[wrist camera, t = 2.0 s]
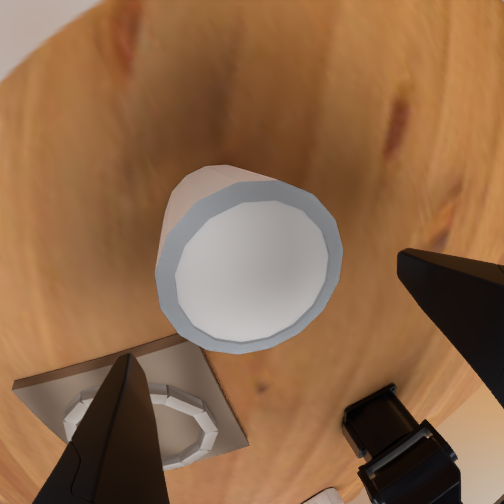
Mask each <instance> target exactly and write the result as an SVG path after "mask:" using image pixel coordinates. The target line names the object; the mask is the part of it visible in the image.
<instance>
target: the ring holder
mask: <svg viewBox="0 0 504 504" xmlns="http://www.w3.org/2000/svg"><path fill="white" fill-rule="evenodd" d="M128 352H131V353H132V354H133V355H134V356H135V358H136V359H137V361H138V362H139V364H140V365H141V367H142V368H143V370H144V372H145V375H146V378H147V383H148V388H149V392H150V397H151V401H152V405H153V409H154V413H155V418H156V424H157V432H158V439H159V446H160V452H161V459H162V465H163V471H166V470H171V469H175V468H179V467H184V466H186V465H189V464H191V463H193V462H196V461H200V460H204V459H208V458H211V457H215V456H218V455H221V454H225V453H228V452H231V451H234V450H237V449H241V448H244V447H247V446H250V445H249V443H248V440H247V437H246V435H245V434H244V432H243V430H242V428H241V426H240V424H239V422H238V421H237V419H236V417H235V415H234V413H233V411H232V409H231V407H230V405H229V403H228V401H227V399H226V397H225V395H224V393H223V391H222V389H221V387H220V385H219V383H218V381H217V379H216V377H215V375H214V373H213V371H212V369H211V367H210V365H209V363H208V361H207V359H206V356H205V354H204V352H203V350H202V348H201V347H200V346H198V345H197V344H195V343H193V342H191V341H189V340H188V339H186V338H184V337H182V336H181V335H179V334H176V335H173V336H170V337H166V338H163V339H160V340H157V341H154V342H151V343H148V344H145V345H141V346H138V347H135V348H132V349H129V350H125V351H122V352H119V353H115V354H112V355H109V356H105V357H102V358H98V359H95V360H91V361H88V362H84V363H81V364H77V365H74V366H70V367H67V368H63V369H59V370H55V371H52V372H48V373H44V374H40V375H36V376H32V377H28V378H24V379H20V380H16V381H14V384H13V387H12V391H13V392H14V394H15V395H16V396H17V397H18V398H19V399H20V400H21V401H22V402H23V403H24V404H25V405H26V406H27V407H28V408H29V409H30V410H31V411H32V412H33V413H34V414H35V415H36V416H37V417H38V418H39V419H40V420H41V421H42V422H43V423H44V424H45V425H46V426H47V427H48V428H49V429H50V430H51V431H52V432H53V433H55V434H56V435H57V436H58V437H59V438H60V439H61V440H62V441H64V442H65V443H66V444H67V445H68V443H69V441H70V440H71V438H72V436H73V434H74V432H75V430H76V428H77V427H78V425H79V423H80V421H81V419H82V418H83V416H84V414H85V412H86V410H87V409H88V407H89V405H90V403H91V402H92V400H93V398H94V396H95V395H96V393H97V391H98V390H99V388H100V386H101V384H102V383H103V381H104V379H105V378H106V376H107V374H108V372H109V371H110V369H111V367H112V366H113V364H114V362H115V361H116V359H117V357H118V356H119V355H122V354H125V353H128ZM71 441H72V440H71Z"/></svg>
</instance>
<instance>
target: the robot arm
mask: <svg viewBox="0 0 504 504" xmlns="http://www.w3.org/2000/svg"><path fill="white" fill-rule="evenodd" d="M397 275H398V278H399V279H400V281H401V282H402V283H403V285H404V286H405V287H406V289H407V290H408V291H409V293H410V294H411V295H412V297H413V298H414V299H415V301H416V302H417V303H418V305H419V306H420V307H421V309H422V310H423V311H424V312H425V313H426V315H427V316H428V317H429V318H430V319H431V320H432V321H433V322H434V323H435V325H436V326H437V327H438V328H439V329H440V330H441V331H442V333H443V334H444V335H445V336H446V337H447V338H448V340H449V341H450V342H451V343H452V344H453V345H454V347H455V348H456V349H457V350H458V351H459V352H460V354H461V355H462V356H463V357H464V358H465V360H466V361H467V362H468V363H469V365H470V366H471V367H472V368H473V370H474V371H475V372H476V373H477V374H478V376H479V377H480V378H481V380H482V381H483V382H484V383H485V384H486V386H487V387H488V388H489V390H490V391H491V393H492V394H493V395H494V396H495V398H496V399H497V400H498V402H499V403H500V404H501V406H502V407H503V409H504V265H499V264H497V265H496V264H494V263H488V262H483V261H478V260H473V259H468V258H462V257H457V256H451V255H446V254H440V253H435V252H429V251H424V250H418V249H412V248H406V249H404V250H402V251H400V252H399V253H398V255H397ZM396 388H397V386H396V385H395V384H392V385H390V386H388V387H386V388H385V389H383V390H381V391H379V392H377V393H376V394H374V395H372V396H370V397H368V398H366V399H365V400H363V401H361V402H359V403H357V404H355V405H353V406H351V407H349V408H347V409H346V410H345V415H344V424H343V435H344V436H345V438H346V440H347V441H348V443H349V444H350V446H351V448H352V449H353V451H354V452H355V454H356V456H357V457H358V458H362V457H364V459H365V460H366V462H367V463H366V464H364V465H361V466H360V467H358V468H359V470H360V471H359V472H358V473H357V474H358V476H359V477H360V479H361V481H362V482H363V484H364V486H365V489H366V491H367V494H368V496H369V499H370V501H371V503H372V504H463V503H462V502H461V473H460V470H459V468H458V467H457V466H456V464H455V463H454V462H455V461H456V460H457V459H458V458H457V456H456V454H455V452H454V451H453V449H452V448H451V447H450V445H449V444H448V443H447V442H446V441H445V440H444V438H443V437H442V436H441V435H440V434H439V433H438V432H437V431H436V430H435V429H434V427H433V426H432V425H431V424H430V423H429V422H428V421H427V420H426V419H425V420H423V421H422V423H421V424H420V425H419V424H418V423H417V421H416V420H415V419H414V418H413V416H412V415H411V414H410V413H409V411H408V410H407V409H406V408H405V406H404V405H403V404H402V403H401V401H400V400H399V399H398V398H397V396H396V395H395V393H396ZM427 436H428V437H429V438H427ZM71 440H72V441H71ZM71 440H70V441H69V443H68V445H67V447H66V449H65V450H64V452H63V454H62V456H61V458H60V459H59V461H58V463H57V465H56V466H55V468H54V469H53V471H52V473H51V474H50V476H49V477H48V479H47V481H46V482H45V484H44V485H43V487H42V488H41V490H40V492H39V493H38V495H37V496H36V498H35V500H34V501H33V503H32V504H170V502H169V498H168V493H167V487H166V482H165V476H164V471H163V465H162V459H161V452H160V446H159V439H158V432H157V424H156V418H155V413H154V409H153V405H152V401H151V397H150V392H149V388H148V383H147V378H146V375H145V372H144V370H143V368H142V367H141V365H140V364H139V362H138V361H137V359H136V358H135V356H134V355H133V354H132V353H131V352H128V353H125V354H122V355H119V356H118V357H117V359H116V361H115V362H114V364H113V366H112V367H111V369H110V371H109V372H108V374H107V376H106V378H105V379H104V381H103V383H102V384H101V386H100V388H99V390H98V391H97V393H96V395H95V396H94V398H93V400H92V402H91V403H90V405H89V407H88V409H87V410H86V412H85V414H84V416H83V418H82V419H81V421H80V423H79V425H78V427H77V428H76V430H75V432H74V434H73V436H72V438H71ZM494 504H504V494H503V495H502V496H501V497H500V498H499V499H498V500H497V501H496V502H495V503H494Z"/></svg>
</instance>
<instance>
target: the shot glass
mask: <svg viewBox="0 0 504 504" xmlns="http://www.w3.org/2000/svg"><path fill="white" fill-rule="evenodd" d="M342 256H343V247H342V243H341V239H340V235H339V231H338V227H337V224H336V220H335V219H334V217H333V216H332V215H331V214H330V213H329V211H328V210H327V209H326V208H325V207H324V206H323V204H322V203H321V202H320V201H319V200H318V199H317V198H316V196H315V195H314V194H312V193H309V192H307V191H304V190H302V189H300V188H297V187H295V186H292V185H290V184H287V183H285V182H283V181H280V180H277V179H274V178H271V177H267V176H264V175H261V174H257V173H254V172H251V171H247V170H244V169H241V168H237V167H234V166H230V165H213V166H205V167H203V168H201V169H198V170H196V171H194V172H192V173H190V174H188V175H186V176H185V177H184V179H183V180H182V181H181V182H180V183H179V184H178V185H177V186H176V187H175V189H174V190H173V191H172V193H171V195H170V198H169V201H168V204H167V207H166V210H165V214H164V220H163V226H162V231H161V237H160V243H159V249H158V256H157V262H156V269H155V278H156V285H157V292H158V298H159V304H160V309H161V310H162V312H163V313H164V314H165V316H166V317H167V319H168V320H169V321H170V323H171V324H172V326H173V327H174V328H175V330H176V331H177V332H178V334H179V335H181V336H182V337H184V338H186V339H188V340H189V341H191V342H193V343H195V344H197V345H198V346H200V347H202V348H204V349H206V350H209V351H216V352H224V353H231V354H244V353H249V352H254V351H259V350H264V349H269V348H272V347H274V346H276V345H278V344H280V343H282V342H284V341H286V340H287V339H289V338H291V337H293V336H295V335H297V334H299V333H300V332H301V331H302V330H303V329H304V328H305V327H306V326H307V325H309V324H310V323H311V322H312V321H313V320H314V319H315V318H316V317H317V316H318V315H319V314H320V313H321V312H322V311H323V310H324V308H325V306H326V304H327V302H328V300H329V299H330V297H331V295H332V293H333V291H334V289H335V287H336V286H337V284H338V282H339V276H340V270H341V263H342Z"/></svg>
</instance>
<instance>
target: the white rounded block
mask: <svg viewBox="0 0 504 504" xmlns="http://www.w3.org/2000/svg"><path fill="white" fill-rule="evenodd" d="M303 504H344V502H343V500H342V499H341V497H340V495H339V493H338V492H337V490H336V489H334V488H329V489H326V490H324V491H323V492H321V493H319V494H318V495H316V496H315V497H313V498H311V499H310V500H308V501H306V502H305V503H303Z"/></svg>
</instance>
